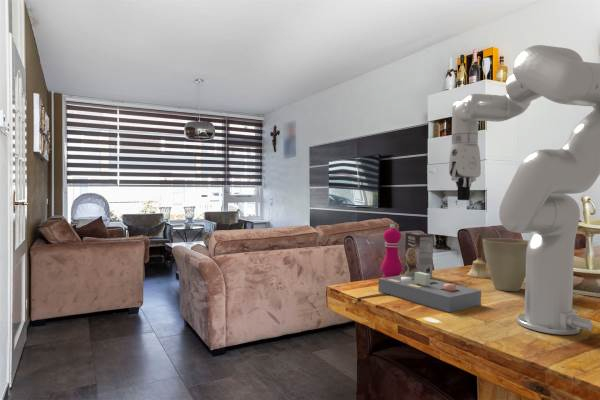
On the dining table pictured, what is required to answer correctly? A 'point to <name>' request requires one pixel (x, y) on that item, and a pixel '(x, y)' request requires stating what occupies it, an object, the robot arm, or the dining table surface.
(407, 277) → the off white button
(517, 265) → the plant pot
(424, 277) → the pale green block
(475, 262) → the hand bell
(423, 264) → the coffee box
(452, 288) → the terracotta button
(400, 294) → the switch panel
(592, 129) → the robot arm
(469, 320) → the dining table surface
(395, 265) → the pepper mill
